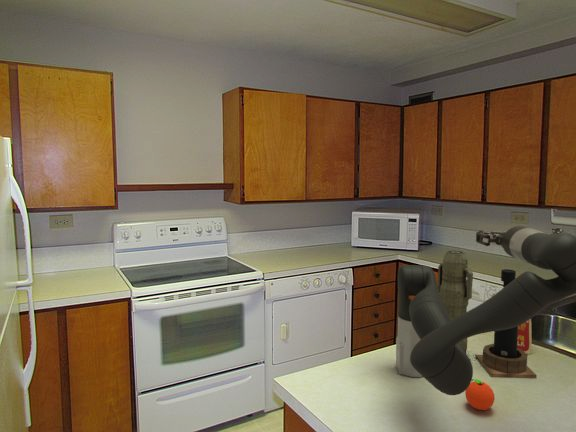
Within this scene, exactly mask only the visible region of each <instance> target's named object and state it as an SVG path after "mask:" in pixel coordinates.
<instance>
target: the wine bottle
mask: <svg viewBox="0 0 576 432" xmlns="http://www.w3.org/2000/svg"><path fill="white" fill-rule="evenodd" d="M500 271H501V273H500V281H501V282H503V285H502V287H503V288H504V287H505V286H507V285H508V284H509V283H510V282H512V281H513V280H514V279H515V280H516V278H517V277H516V273H517V272H516V270H514V269H506V268H505V269H501V270H500ZM503 288H501V290H502V289H503ZM493 332H494V333H493V334H494V335H493V344H494V355H496V356H499V357H503V358H513V359H516V358H517V338H518V326H517V327H514V328H510V329H506V330H500V331H493Z"/></svg>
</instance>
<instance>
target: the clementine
mask: <svg viewBox="0 0 576 432" xmlns="http://www.w3.org/2000/svg"><path fill="white" fill-rule="evenodd" d="M464 393H465V398H466V401H467V403H468V404H469V405H470V406H471V407H472V408H474V409H476V410H479V411H485V410H486V411H487V410H488V409H490V408H491V407H492V406H493V405H494V403H495V400H496V398H495V393H494V390H493V389H492V387H491V386H490V385H489V384H487V383H486V382H485V381H481V380H480V379H478V378H477V379H476V378H474V379H473V378H472V380H471V383H470V385H469V387H468V388H467V389H466V390H465V391H464Z"/></svg>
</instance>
